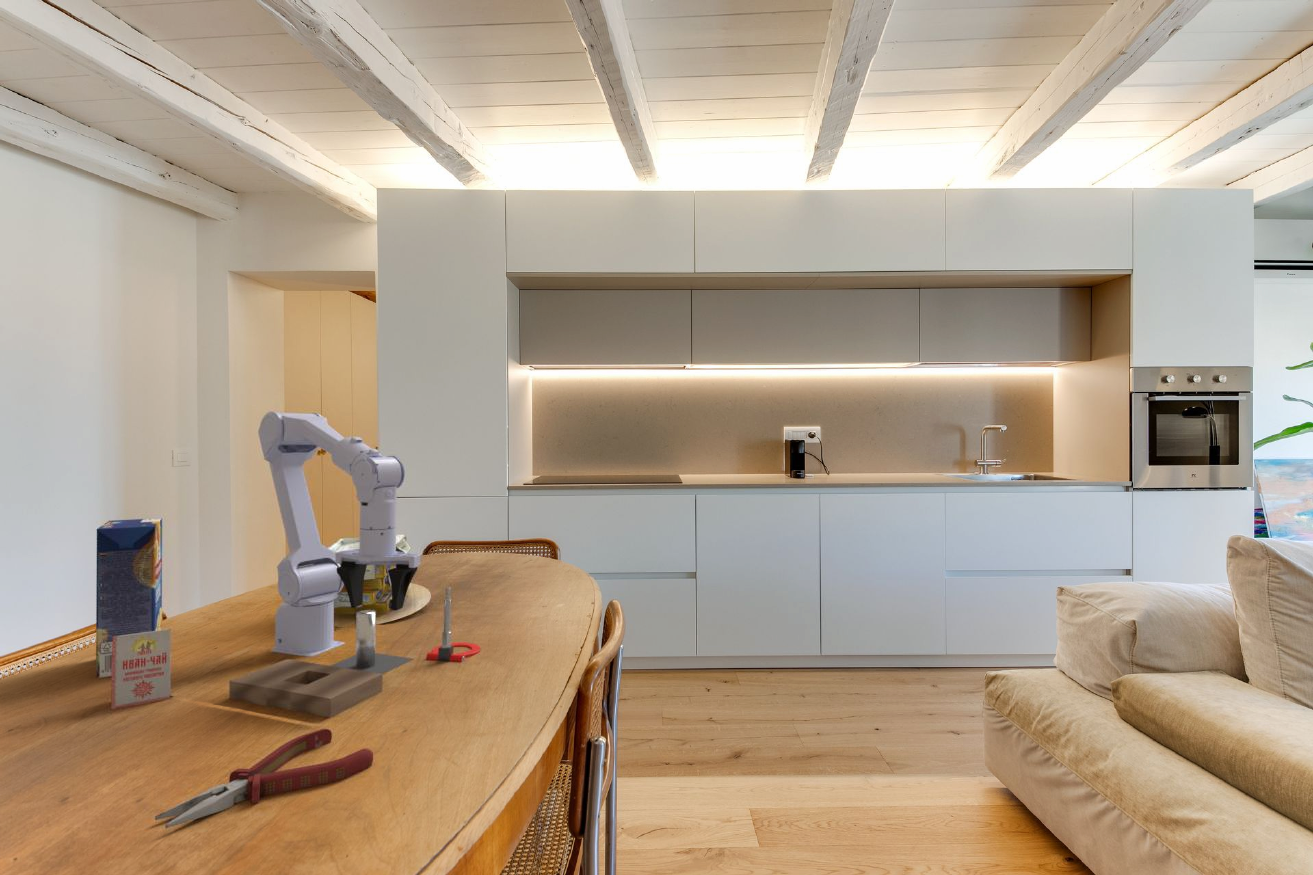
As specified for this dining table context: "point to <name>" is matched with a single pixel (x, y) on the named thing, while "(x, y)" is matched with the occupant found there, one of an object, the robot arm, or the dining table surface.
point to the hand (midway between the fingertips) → (377, 607)
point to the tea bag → (140, 668)
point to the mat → (381, 663)
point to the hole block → (306, 687)
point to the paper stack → (377, 590)
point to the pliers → (271, 778)
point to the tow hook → (446, 649)
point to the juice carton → (127, 583)
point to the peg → (365, 638)
